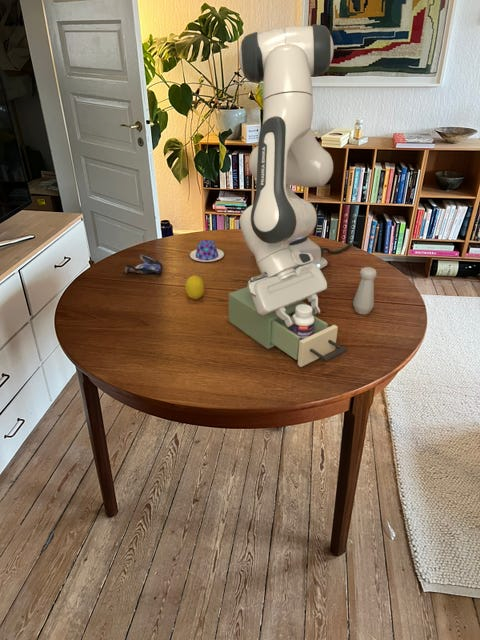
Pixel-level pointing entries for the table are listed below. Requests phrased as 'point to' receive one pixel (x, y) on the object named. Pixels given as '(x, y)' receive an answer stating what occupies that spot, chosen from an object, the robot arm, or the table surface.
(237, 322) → the cabinet
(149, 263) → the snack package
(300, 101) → the robot arm
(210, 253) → the pudding
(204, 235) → the table surface
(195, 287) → the lemon
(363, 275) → the salt shaker
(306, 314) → the pill bottle
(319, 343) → the drawer
